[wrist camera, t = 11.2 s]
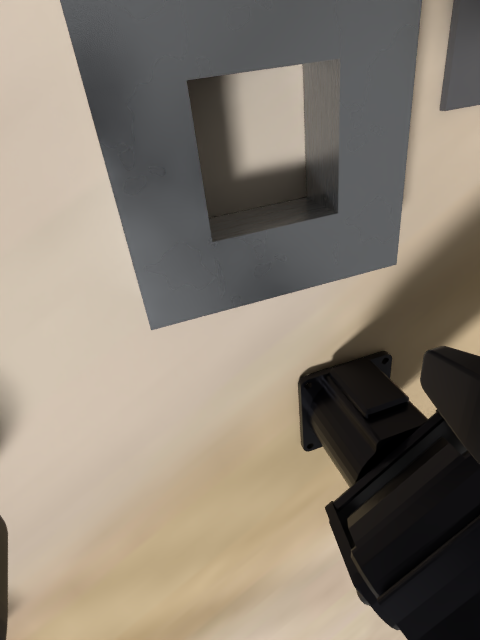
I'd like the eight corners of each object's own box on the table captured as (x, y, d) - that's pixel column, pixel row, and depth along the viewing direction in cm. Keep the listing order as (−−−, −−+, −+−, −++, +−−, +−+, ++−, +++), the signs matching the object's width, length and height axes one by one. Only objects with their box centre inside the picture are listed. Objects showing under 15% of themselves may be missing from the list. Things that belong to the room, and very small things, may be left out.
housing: (361, 244, 22) (396, 264, 20) (142, 299, 20) (151, 330, 17) (375, -46, 16) (428, -69, 14) (54, -19, 13) (48, -41, 11)
